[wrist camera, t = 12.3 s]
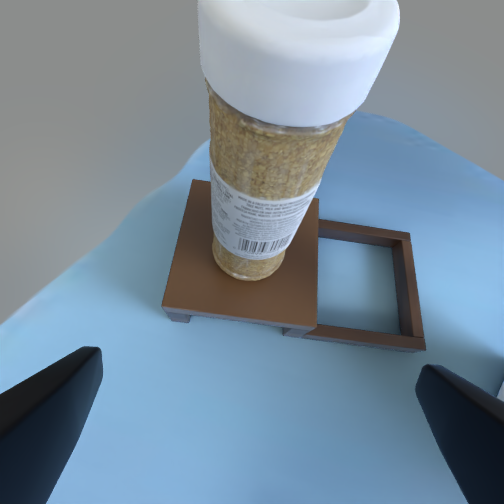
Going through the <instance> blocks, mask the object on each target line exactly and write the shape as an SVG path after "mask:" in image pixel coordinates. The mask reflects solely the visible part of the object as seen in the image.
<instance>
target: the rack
mask: <svg viewBox="0 0 504 504" xmlns="http://www.w3.org/2000/svg"><path fill="white" fill-rule="evenodd" d="M318 214H319V199H317V198H313V199H312V201H311V203H310V205H309V207H308V209H307V211H306V213H305V215H304V217H303V219H302V221H301V223H300V225H299V227H298V229H297V231H296V233H295V235H294V237H293V239H292V241H291V243H290V244H289V246H288V247H287V248H286V250H285V255H284V259H283V261H282V263H281V264H280V266H279V268H278V269H277V270H275V271H274V272H273V273H272V274H271V275H270V276H268V277H266V278H263V279H260V280H256V281H253V280H251V281H245V280H239V279H236V278H234V277H232V276H230V275H228V274H227V273H226V272H225V271H223V270H222V269H221V268H220V266H219V265H218V264H217V263H216V261H215V258H214V255H213V250H212V244H213V238H214V230H213V225H212V205H211V182H208V181H202V180H195V179H193V180H192V183H191V188H190V192H189V196H188V200H187V204H186V208H185V212H184V216H183V220H182V224H181V228H180V232H179V236H178V240H177V244H176V248H175V252H174V257H173V261H172V265H171V269H170V273H169V277H168V281H167V285H166V289H165V293H164V297H163V301H162V305H161V307H162V308H163V310H164V311H165V312H166V314H167V315H168V316H169V318H170V319H171V321H175V322H183V323H189V319H190V315H195V316H203V317H210V318H218V319H225V320H233V321H240V322H248V323H255V324H263V325H270V326H278V327H283V336H289V337H297V338H304V339H312V340H319V341H327V342H335V343H342V344H350V345H357V346H365V347H373V348H380V349H388V350H395V351H403V352H411V353H414V352H420V351H425V350H426V345H425V339H424V332H423V325H422V318H421V310H420V303H419V296H418V289H417V281H416V274H415V267H414V260H413V252H412V245H411V242H410V241H411V238H410V233H407V232H401V231H394V230H388V229H381V228H375V227H368V226H361V225H355V224H348V223H342V222H335V221H329V220H322V219H318ZM318 237H324V238H330V239H337V240H344V241H351V242H357V243H364V244H371V245H377V246H384V247H391V248H392V255H393V264H394V274H395V283H396V293H397V302H398V312H399V321H400V331H401V335H396V334H388V333H381V332H373V331H366V330H358V329H351V328H343V327H336V326H328V325H321V324H317V282H318Z"/></svg>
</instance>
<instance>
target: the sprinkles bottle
mask: <svg viewBox="0 0 504 504" xmlns="http://www.w3.org/2000/svg"><path fill="white" fill-rule="evenodd" d="M399 21H400V11H399V6H398V3H397V0H198V28H199V43H200V61H201V67H202V70H203V73H204V75H205V81H206V86H207V90H208V93H209V109H210V120H209V122H210V127H211V128H210V132H211V141H210V147H209V156H210V177H211V205H212V225H213V230H214V238H213V244H212V250H213V255H214V258H215V261H216V263H217V264H218V265H219V266H220V268H221V269H222V270H223V271H225V272H226V273H227V274H228V275H230V276H232V277H234V278H236V279H239V280H245V281H251V280H253V281H256V280H260V279H263V278H266V277H268V276H270V275H271V274H272V273H273V272H274V271H275V270H277V269H278V268H279V266H280V264H281V263H282V261H283V259H284V255H285V250H286V248H287V247H288V246H289V244H290V243H291V241H292V239H293V237H294V235H295V233H296V231H297V229H298V227H299V225H300V223H301V221H302V219H303V217H304V215H305V213H306V211H307V209H308V207H309V205H310V203H311V201H312V199H313V197H314V195H315V193H316V191H317V189H318V187H319V184H320V182H321V178H322V175H323V172H324V169H325V167H326V165H327V163H328V161H329V159H330V156H331V155H332V153H333V151H334V148H335V146H336V144H337V141H338V139H339V137H340V135H341V134H342V131H343V129H344V126H345V124H346V122H347V120H348V119H349V118H350V117H351V116H352V115H353V114H354V112H355V111H356V109H357V108H358V107H359V106H360V105H361V104H362V103H363V102H364V101H365V99H366V97H367V95H368V93H369V91H370V89H371V87H372V85H373V83H374V81H375V79H376V77H377V75H378V73H379V71H380V69H381V67H382V64H383V62H384V60H385V58H386V56H387V54H388V52H389V50H390V47H391V45H392V43H393V41H394V38H395V36H396V34H397V32H398V28H399Z"/></svg>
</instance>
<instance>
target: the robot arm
mask: <svg viewBox="0 0 504 504" xmlns="http://www.w3.org/2000/svg"><path fill="white" fill-rule="evenodd" d="M102 378H103V364H102V352H101V349H100V348H99V347H90V346H84V347H81V348H79V349H78V350H76V351H74V352H72V353H71V354H69V355H67V356H66V357H64V358H62V359H60V360H59V361H57V362H55V363H53V364H52V365H50V366H48V367H47V368H45V369H43V370H41V371H40V372H38V373H36V374H34V375H33V376H31V377H29V378H28V379H26V380H24V381H22V382H21V383H19V384H17V385H15V386H14V387H12V388H10V389H9V390H7V391H5V392H3V393H2V394H0V504H46V502H47V501H48V499H49V497H50V495H51V493H52V491H53V489H54V487H55V485H56V483H57V481H58V479H59V477H60V475H61V473H62V471H63V469H64V467H65V465H66V463H67V462H68V460H69V458H70V456H71V454H72V452H73V450H74V448H75V446H76V444H77V441H78V439H79V437H80V434H81V432H82V430H83V427H84V425H85V422H86V419H87V417H88V414H89V412H90V409H91V407H92V404H93V402H94V399H95V397H96V394H97V392H98V389H99V386H100V384H101V381H102ZM415 392H416V396H417V398H418V400H419V403H420V405H421V407H422V410H423V412H424V414H425V417H426V419H427V421H428V423H429V426H430V428H431V430H432V433H433V435H434V437H435V440H436V442H437V444H438V446H439V448H440V451H441V453H442V455H443V457H444V459H445V460H446V462H447V464H448V466H449V468H450V470H451V472H452V474H453V475H454V477H455V479H456V481H457V483H458V485H459V487H460V488H461V490H462V492H463V494H464V496H465V498H466V500H467V502H468V503H469V504H504V401H502V400H500V399H498V398H497V397H495V396H493V395H491V394H490V393H488V392H486V391H484V390H483V389H481V388H479V387H477V386H476V385H474V384H472V383H470V382H469V381H467V380H465V379H464V378H462V377H460V376H458V375H457V374H455V373H453V372H451V371H450V370H448V369H446V368H444V367H443V366H441V365H433V364H426V365H424V366H423V367H422V370H421V372H420V375H419V378H418V381H417V383H416V386H415Z"/></svg>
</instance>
